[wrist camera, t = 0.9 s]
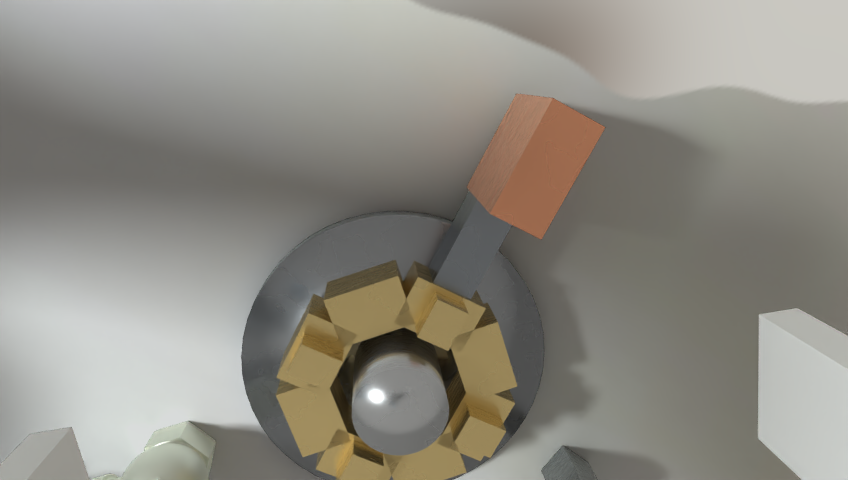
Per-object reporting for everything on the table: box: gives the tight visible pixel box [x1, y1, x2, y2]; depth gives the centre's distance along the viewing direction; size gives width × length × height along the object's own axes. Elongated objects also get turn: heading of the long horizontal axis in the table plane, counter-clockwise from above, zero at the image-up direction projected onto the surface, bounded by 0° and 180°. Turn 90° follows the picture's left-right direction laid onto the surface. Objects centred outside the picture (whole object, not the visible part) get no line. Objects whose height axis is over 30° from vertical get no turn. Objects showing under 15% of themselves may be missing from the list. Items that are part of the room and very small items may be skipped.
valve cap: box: [241, 211, 544, 480], centre depth 31 cm, size 16×16×6 cm
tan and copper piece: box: [276, 94, 605, 480], centre depth 28 cm, size 21×11×6 cm, turn 153°
